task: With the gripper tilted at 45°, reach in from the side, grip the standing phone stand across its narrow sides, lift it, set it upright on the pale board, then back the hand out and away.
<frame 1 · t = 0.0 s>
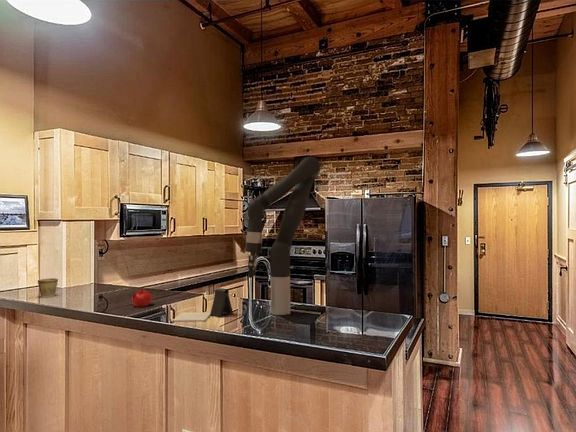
hand: (251, 276, 179), 17 cm above the counter, tool pointing down, fingers open, 8 cm apart
ceramic cup: (49, 296, 224), on the counter
phone stand: (221, 315, 176), on the counter
pomegranate: (142, 306, 197), on the counter
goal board: (192, 317, 172), on the counter
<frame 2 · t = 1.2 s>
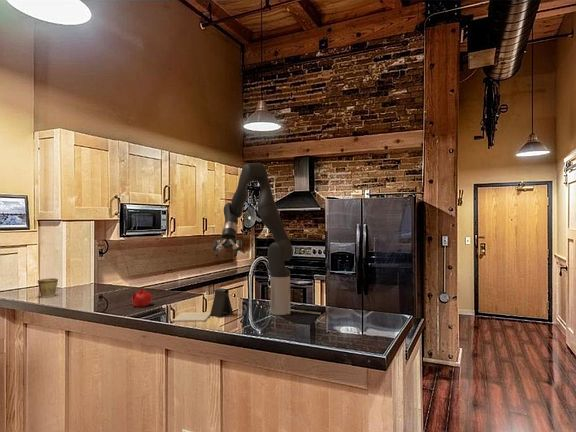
hand: (225, 256, 188), 26 cm above the counter, tool tilted 45°, fingers open, 8 cm apart
nothing on the counter moved.
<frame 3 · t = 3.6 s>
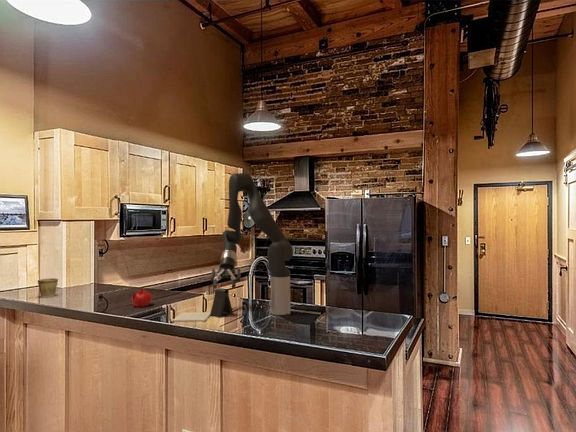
hand: (223, 287, 182), 12 cm above the counter, tool tilted 45°, fingers open, 8 cm apart
nothing on the counter moved.
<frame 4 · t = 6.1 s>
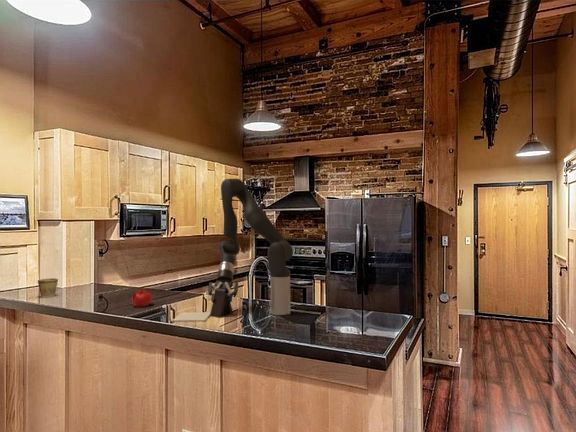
hand: (221, 302, 175), 6 cm above the counter, tool tilted 45°, fingers closed on phone stand, 6 cm apart
phone stand: (221, 315, 176), on the counter, touching gripper
everything else where it was.
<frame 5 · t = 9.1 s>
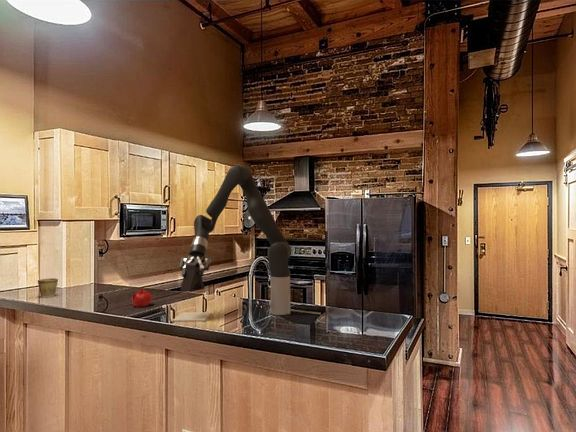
hand: (192, 276, 171), 18 cm above the counter, tool tilted 45°, fingers closed on phone stand, 6 cm apart
phone stand: (192, 290, 172), point 12 cm above the counter, touching gripper
everything else where it was.
when the fingers open (8 cm above the counter, at t = 12.1 s): phone stand drops 1 cm, resting on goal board.
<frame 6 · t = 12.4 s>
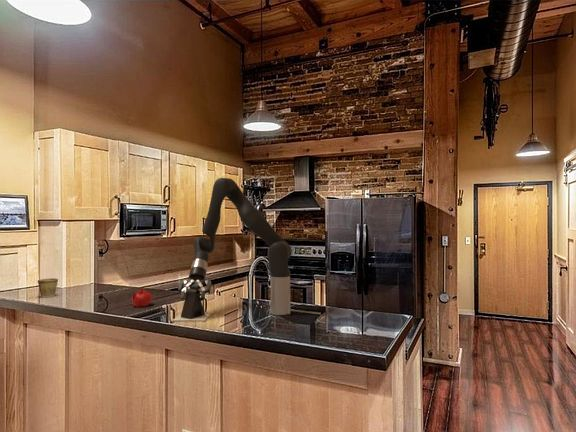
hand: (192, 299, 170), 8 cm above the counter, tool tilted 45°, fingers open, 8 cm apart
phone stand: (192, 316, 171), resting on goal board
everything else where it was.
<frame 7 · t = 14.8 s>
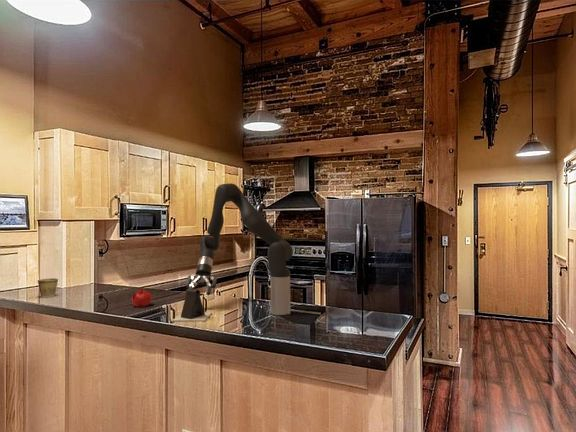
hand: (199, 294, 183), 8 cm above the counter, tool tilted 45°, fingers open, 8 cm apart
nothing on the counter moved.
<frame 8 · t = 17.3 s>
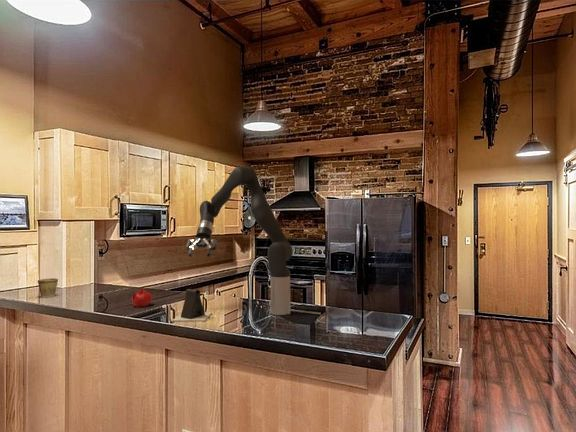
hand: (199, 255, 184), 27 cm above the counter, tool tilted 45°, fingers open, 8 cm apart
nothing on the counter moved.
at the end: phone stand inside the target area on the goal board (0.2 cm from its centre), point 0.4 cm above the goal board's base; phone stand tilted 0°; the gripper is holding nothing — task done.
